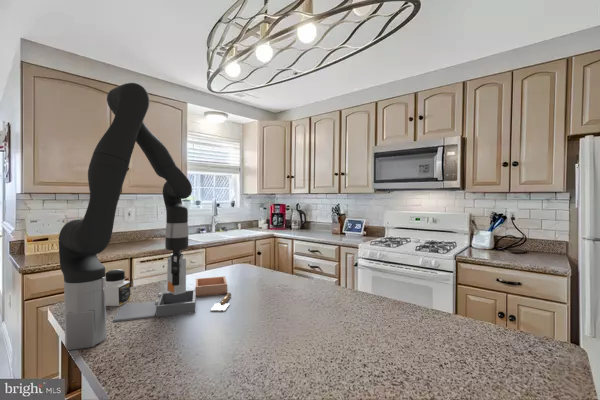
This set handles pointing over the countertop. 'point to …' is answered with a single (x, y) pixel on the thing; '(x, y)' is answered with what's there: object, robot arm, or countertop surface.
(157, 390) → the countertop surface
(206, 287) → the bin
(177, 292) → the skincare box
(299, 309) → the countertop surface
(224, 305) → the hand shovel
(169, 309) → the bin
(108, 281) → the medicine bottle
